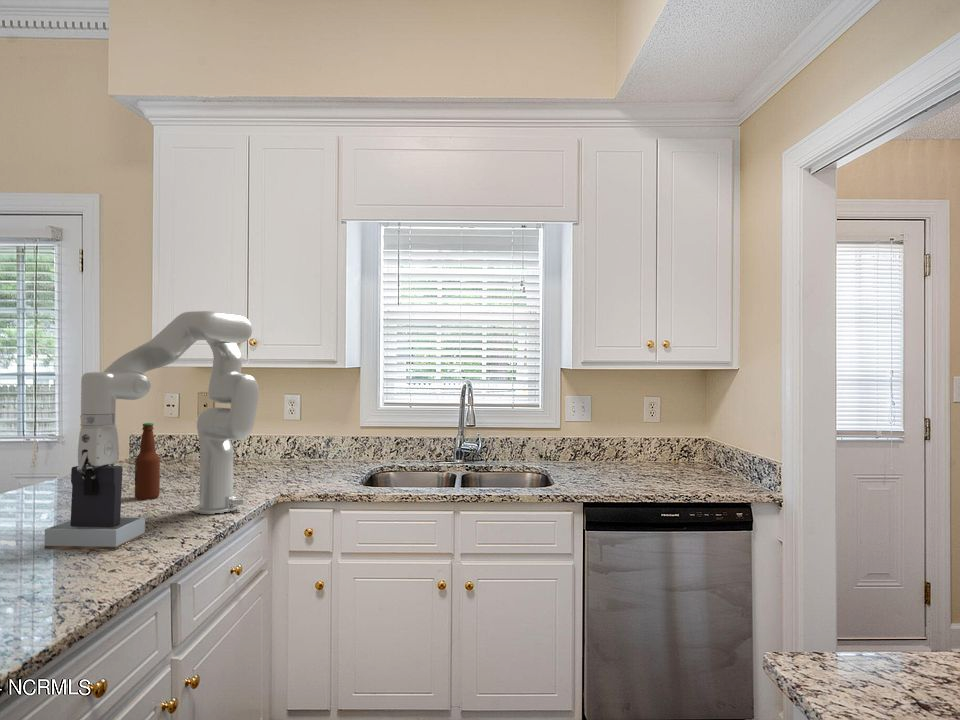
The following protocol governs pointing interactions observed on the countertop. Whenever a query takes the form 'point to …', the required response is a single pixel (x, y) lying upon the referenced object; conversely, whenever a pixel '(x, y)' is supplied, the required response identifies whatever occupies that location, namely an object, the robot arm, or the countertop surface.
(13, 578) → the countertop surface
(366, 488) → the countertop surface
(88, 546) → the pen board
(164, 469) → the countertop surface
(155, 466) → the bottle
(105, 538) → the grey tray
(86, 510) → the tall charcoal block
